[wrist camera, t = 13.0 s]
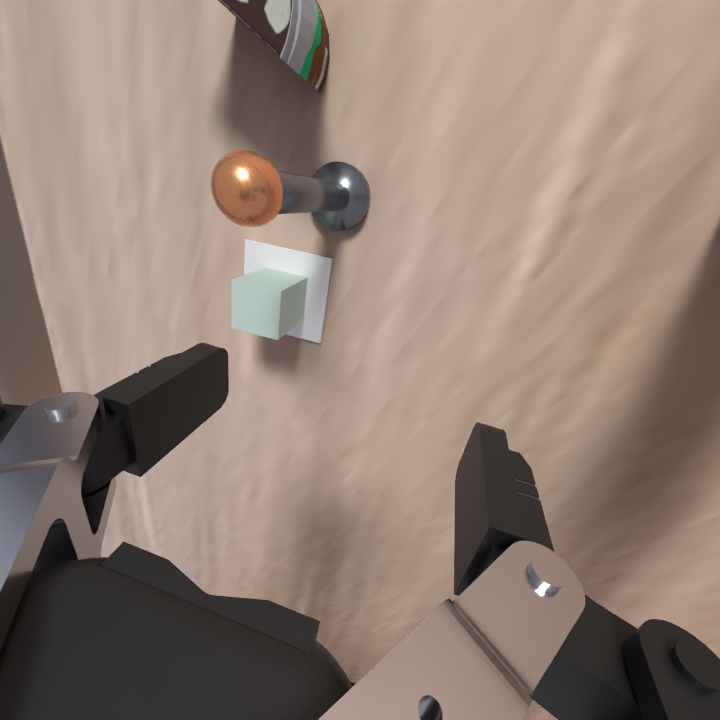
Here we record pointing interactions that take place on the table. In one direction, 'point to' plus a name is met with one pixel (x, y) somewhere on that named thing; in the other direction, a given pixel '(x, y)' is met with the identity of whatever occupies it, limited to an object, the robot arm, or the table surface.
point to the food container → (289, 33)
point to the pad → (299, 264)
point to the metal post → (288, 192)
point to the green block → (268, 302)
